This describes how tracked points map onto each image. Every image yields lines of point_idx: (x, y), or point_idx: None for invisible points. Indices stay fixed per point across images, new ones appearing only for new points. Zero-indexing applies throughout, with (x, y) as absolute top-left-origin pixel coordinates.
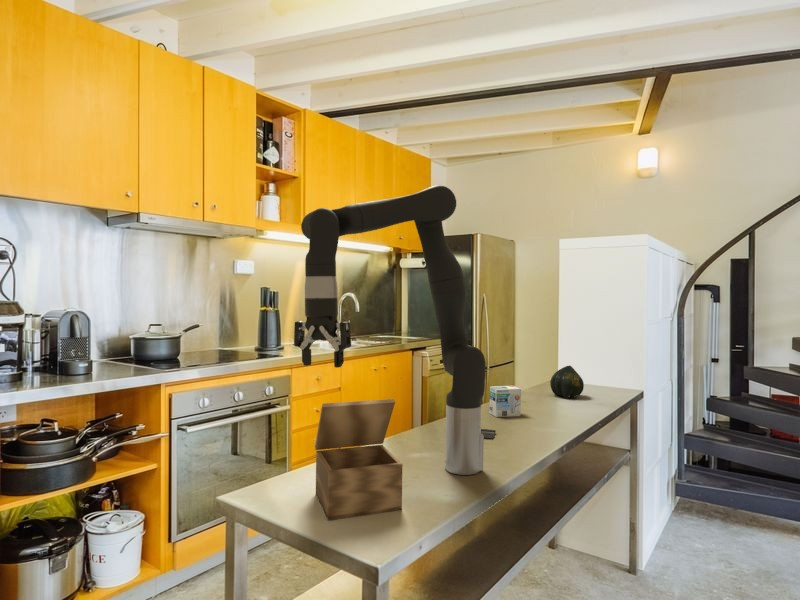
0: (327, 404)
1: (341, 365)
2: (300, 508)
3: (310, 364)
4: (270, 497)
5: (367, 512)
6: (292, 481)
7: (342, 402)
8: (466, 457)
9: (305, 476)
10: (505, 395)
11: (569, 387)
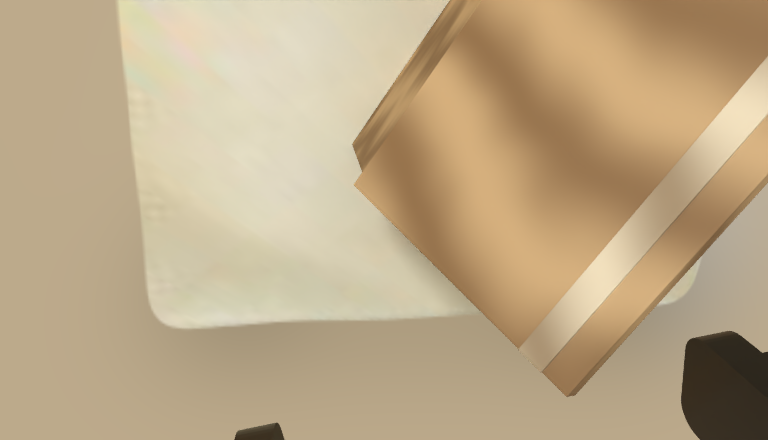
0: (587, 376)
1: (730, 339)
2: (388, 236)
3: (278, 429)
4: (261, 243)
5: None
6: (203, 115)
7: (648, 306)
8: None
9: (197, 49)
10: None
11: None
